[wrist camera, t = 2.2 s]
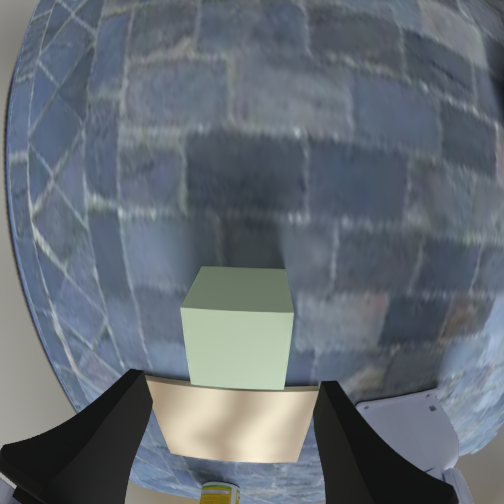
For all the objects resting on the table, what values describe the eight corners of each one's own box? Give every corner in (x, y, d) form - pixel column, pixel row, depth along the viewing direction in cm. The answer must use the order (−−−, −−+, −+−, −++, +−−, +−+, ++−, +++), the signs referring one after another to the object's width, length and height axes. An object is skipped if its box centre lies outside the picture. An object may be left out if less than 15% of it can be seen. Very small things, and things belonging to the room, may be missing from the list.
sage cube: (285, 268, 16) (293, 312, 12) (279, 336, 18) (283, 389, 13) (202, 265, 17) (180, 307, 12) (206, 332, 18) (191, 384, 13)
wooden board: (318, 385, 20) (319, 391, 19) (296, 457, 24) (296, 461, 23) (145, 375, 20) (143, 379, 19) (172, 449, 24) (170, 453, 24)
